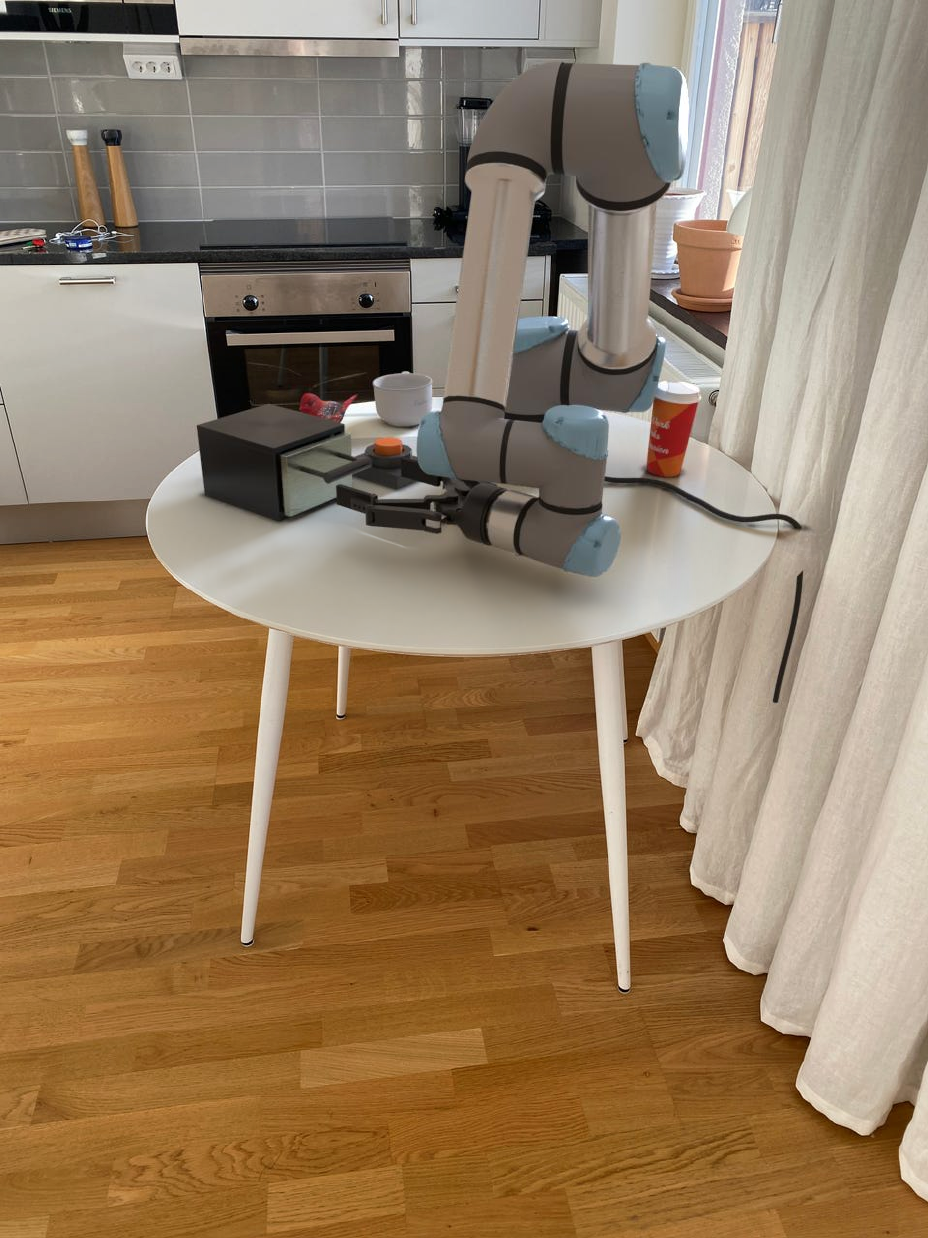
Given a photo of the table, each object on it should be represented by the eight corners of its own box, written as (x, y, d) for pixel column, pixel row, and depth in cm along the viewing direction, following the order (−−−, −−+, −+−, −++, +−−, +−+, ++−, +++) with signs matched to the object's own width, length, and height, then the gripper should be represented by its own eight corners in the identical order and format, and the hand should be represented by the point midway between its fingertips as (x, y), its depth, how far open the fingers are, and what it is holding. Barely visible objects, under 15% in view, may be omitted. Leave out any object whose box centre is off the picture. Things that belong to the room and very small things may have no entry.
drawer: (383, 500, 138) (382, 441, 134) (321, 527, 129) (318, 466, 124) (283, 468, 148) (279, 413, 144) (220, 492, 139) (213, 434, 135)
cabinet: (347, 492, 143) (344, 423, 138) (279, 521, 133) (273, 448, 127) (273, 469, 151) (268, 403, 145) (204, 495, 140) (196, 424, 135)
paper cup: (635, 460, 158) (648, 378, 150) (679, 461, 159) (694, 380, 151) (646, 479, 151) (661, 394, 144) (692, 480, 152) (709, 396, 145)
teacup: (424, 433, 169) (424, 389, 165) (366, 428, 170) (365, 384, 167) (441, 411, 181) (442, 370, 177) (387, 406, 182) (386, 365, 179)
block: (432, 473, 151) (433, 449, 149) (397, 489, 144) (397, 464, 142) (380, 458, 156) (380, 435, 154) (344, 473, 150) (343, 449, 148)
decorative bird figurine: (295, 454, 157) (291, 395, 152) (351, 426, 171) (349, 371, 166) (309, 457, 156) (306, 398, 151) (365, 428, 170) (363, 373, 165)
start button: (408, 451, 149) (407, 441, 148) (390, 458, 146) (390, 448, 145) (386, 445, 151) (386, 435, 150) (368, 452, 148) (368, 442, 147)
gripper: (441, 579, 111) (310, 533, 121) (549, 515, 129) (426, 480, 139) (442, 521, 107) (306, 479, 118) (553, 463, 125) (426, 431, 136)
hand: (371, 479), depth 129 cm, fingers open, 13 cm apart
